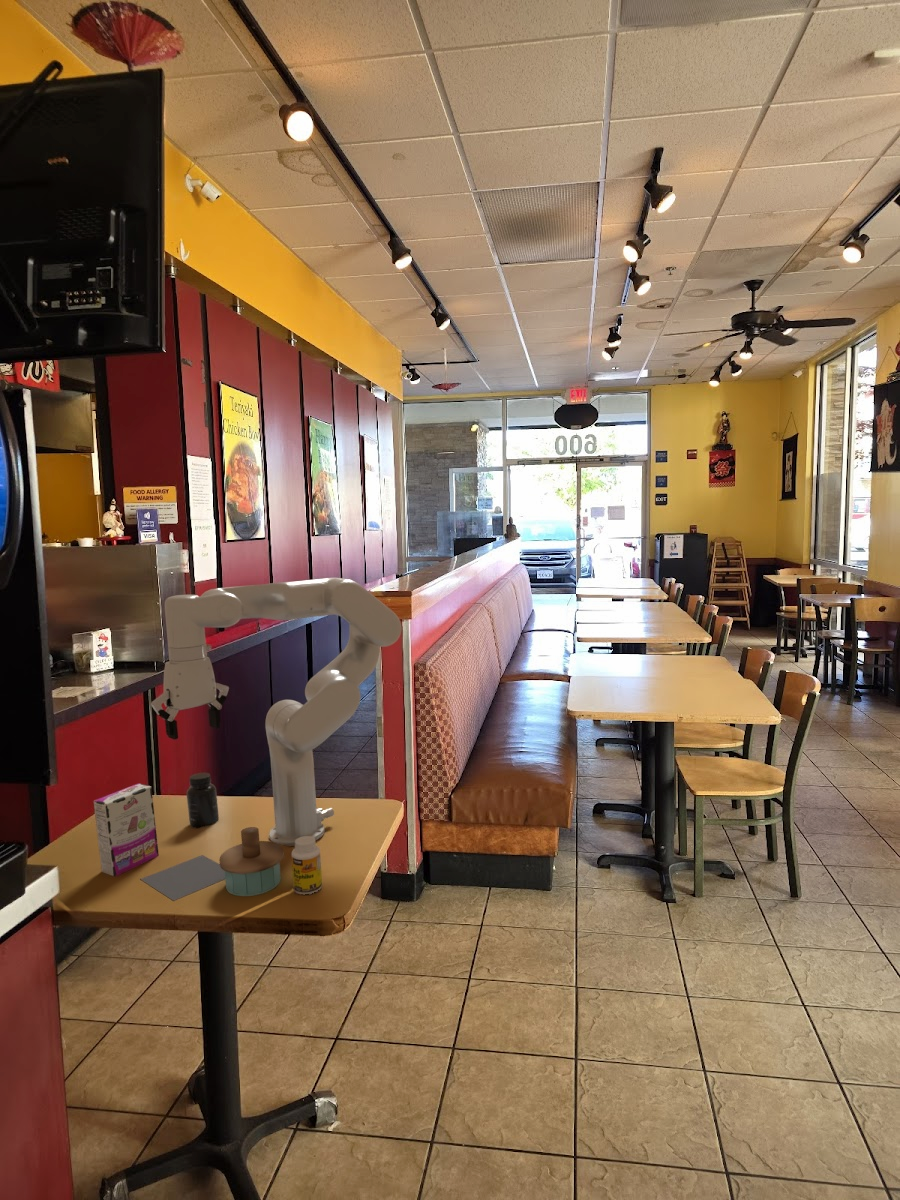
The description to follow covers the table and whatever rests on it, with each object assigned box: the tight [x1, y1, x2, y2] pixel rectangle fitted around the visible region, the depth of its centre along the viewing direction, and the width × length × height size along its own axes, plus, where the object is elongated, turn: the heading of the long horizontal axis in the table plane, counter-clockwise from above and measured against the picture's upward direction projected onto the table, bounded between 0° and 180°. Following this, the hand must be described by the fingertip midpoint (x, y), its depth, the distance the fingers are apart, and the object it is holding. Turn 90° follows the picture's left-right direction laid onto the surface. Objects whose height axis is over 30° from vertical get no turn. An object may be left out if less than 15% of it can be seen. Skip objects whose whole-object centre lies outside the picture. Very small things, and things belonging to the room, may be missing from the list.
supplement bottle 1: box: [186, 772, 220, 829], centre depth 188 cm, size 7×7×12 cm
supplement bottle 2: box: [291, 836, 323, 896], centre depth 153 cm, size 6×6×10 cm
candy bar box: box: [93, 783, 160, 877], centre depth 166 cm, size 11×5×16 cm, turn 148°
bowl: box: [224, 861, 282, 897], centre depth 156 cm, size 11×11×6 cm
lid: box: [219, 826, 285, 874], centre depth 155 cm, size 12×12×6 cm
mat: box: [140, 854, 225, 902], centre depth 160 cm, size 14×14×1 cm
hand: (194, 732), depth 166 cm, fingers open, 9 cm apart
